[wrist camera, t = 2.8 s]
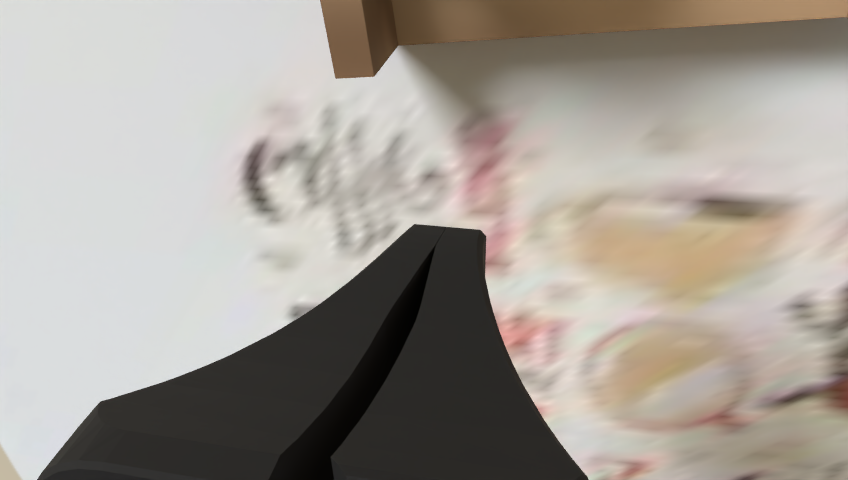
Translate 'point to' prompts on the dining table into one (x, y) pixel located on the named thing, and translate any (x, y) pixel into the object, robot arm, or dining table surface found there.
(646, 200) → the dining table surface
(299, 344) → the robot arm
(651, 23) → the tray
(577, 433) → the dining table surface
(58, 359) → the dining table surface
